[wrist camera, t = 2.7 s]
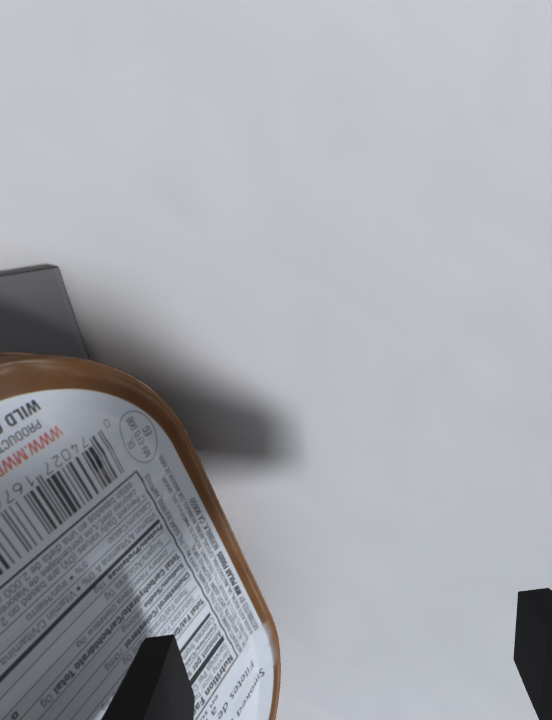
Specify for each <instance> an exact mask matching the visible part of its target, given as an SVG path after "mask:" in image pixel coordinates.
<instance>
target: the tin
mask: <svg viewBox="0 0 552 720" xmlns="http://www.w3.org/2000/svg"><path fill="white" fill-rule="evenodd" d="M172 634H174V635H175V638H176V641H177V644H178V647H179V650H180V653H181V656H182V659H183V662H184V665H185V668H186V671H187V674H188V677H189V680H190V683H191V686H192V689H193V692H194V695H195V704H194V720H275V719H276V713H277V707H278V700H279V691H280V677H281V663H280V647H279V640H278V635H277V631H276V627H275V624H274V621H273V618H272V616H271V613H270V611H269V609H268V607H267V605H266V602H265V600H264V598H263V596H262V594H261V591H260V589H259V587H258V585H257V583H256V581H255V579H254V576H253V574H252V572H251V570H250V568H249V566H248V564H247V562H246V560H245V557H244V555H243V553H242V551H241V549H240V546H239V544H238V542H237V540H236V538H235V536H234V533H233V531H232V529H231V527H230V525H229V523H228V521H227V518H226V516H225V514H224V512H223V510H222V508H221V506H220V503H219V501H218V499H217V497H216V495H215V492H214V490H213V488H212V486H211V484H210V481H209V479H208V477H207V475H206V472H205V470H204V468H203V466H202V464H201V461H200V459H199V457H198V455H197V453H196V451H195V449H194V446H193V444H192V442H191V440H190V438H189V436H188V434H187V432H186V430H185V428H184V427H183V425H182V423H181V421H180V420H179V418H178V417H177V416H176V414H175V413H174V411H173V410H172V409H171V407H170V406H169V405H168V404H167V403H166V402H165V401H164V399H163V398H162V397H161V396H159V395H158V394H157V393H156V392H155V391H154V390H152V389H151V388H150V387H149V386H147V385H146V384H145V383H143V382H142V381H140V380H138V379H137V378H135V377H133V376H131V375H129V374H127V373H125V372H123V371H121V370H119V369H117V368H114V367H112V366H109V365H106V364H102V363H99V362H95V361H92V360H87V359H82V358H77V357H70V356H60V355H41V354H32V353H22V352H0V720H101V719H102V717H103V715H104V713H105V712H106V710H107V708H108V706H109V704H110V702H111V701H112V699H113V697H114V695H115V693H116V691H117V689H118V688H119V686H120V684H121V682H122V680H123V678H124V676H125V674H126V673H127V671H128V669H129V667H130V665H131V663H132V661H133V659H134V657H135V655H136V653H137V651H138V649H139V647H140V645H141V644H142V642H143V641H144V640H145V638H148V637H156V636H164V635H172Z"/></svg>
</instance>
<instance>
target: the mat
mask: <svg viewBox="0 0 552 720" xmlns="http://www.w3.org/2000/svg"><path fill="white" fill-rule="evenodd" d="M0 352H22V353H32V354H41V355H60V356H70V357H77V358H82V359H87V360H89V358H88V355H87V352H86V349H85V346H84V343H83V340H82V337H81V334H80V331H79V328H78V325H77V321H76V318H75V315H74V312H73V309H72V306H71V303H70V300H69V297H68V294H67V291H66V288H65V285H64V282H63V279H62V276H61V273H60V270H59V267H53V268H47V269H41V270H35V271H28V272H22V273H16V274H10V275H3V276H0Z"/></svg>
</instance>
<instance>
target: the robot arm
mask: <svg viewBox="0 0 552 720" xmlns="http://www.w3.org/2000/svg"><path fill="white" fill-rule="evenodd" d="M514 661H515V664H516V666H517V669H518V671H519V673H520V676H521V678H522V681H523V683H524V686H525V688H526V690H527V693H528V695H529V697H530V700H531V702H532V704H533V707H534V709H535V711H536V714H537V716H538V718H539V720H552V590H550V589H549V588H545V589H536V590H528V591H520V592H518V603H517V617H516V632H515V647H514ZM194 704H195V695H194V692H193V689H192V686H191V683H190V680H189V677H188V674H187V671H186V668H185V665H184V662H183V659H182V656H181V653H180V650H179V647H178V644H177V641H176V638H175V635H174V634H172V635H164V636H156V637H148V638H145V640H144V641H143V642H142V644H141V645H140V647H139V649H138V651H137V653H136V655H135V657H134V659H133V661H132V663H131V665H130V667H129V669H128V671H127V673H126V674H125V676H124V678H123V680H122V682H121V684H120V686H119V688H118V689H117V691H116V693H115V695H114V697H113V699H112V701H111V702H110V704H109V706H108V708H107V710H106V712H105V713H104V715H103V717H102V719H101V720H194Z"/></svg>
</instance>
